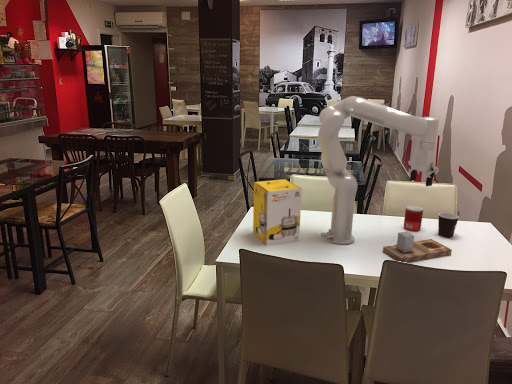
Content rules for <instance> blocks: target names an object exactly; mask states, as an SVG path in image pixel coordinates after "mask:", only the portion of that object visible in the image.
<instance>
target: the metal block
mask: <svg viewBox="0 0 512 384" xmlns="http://www.w3.org/2000/svg"><path fill="white" fill-rule="evenodd" d="M414 240H415V235H414V234H413V233H411V232H408V231H403V232H402V231H401V232H398V233H397V240H396V241H397V242H396V245H397V248H396V250H397V251H399V252H400V253H402V254H408V253H412V250H413V242H415V241H414Z"/></svg>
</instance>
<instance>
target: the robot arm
mask: <svg viewBox="0 0 512 384" xmlns="http://www.w3.org/2000/svg"><path fill="white" fill-rule="evenodd" d="M350 117H353V118H356V119H358V120H361V121H366V122H368V123H371V124H374V125H377V126H380V127H383V128H387V129H392V130H396V131H399V132H403V133H406V134H409V135H410V136H411V135H412V136H414V137H417V141H416V146H415V147H414V150H413V151H412V152H413V153H412V156H411V159H409V160H408V161H407V162H408V168H409V172H410V175H409V176H410V177H409V181H416V180H417V176H418V175H417V174H418V172H422V173H426V175H427V176H426V180H425V187H432V186H433V181H434V178H435V176H437V174H438V173H439V171H440V168H439V167H438V166H436V158H437V157H436V154H437V153H436V149H435V148H436V143H437V136H438V131H439V119H438V118H437V117H433V116H423V117H420V116H416V115H413V114H412V115H411V114H409V113H406V112H403V111H401V110H397V109H396V108H393V107H390V106H388V105H386V104H382V103H379V102H375V101H374V100H373V101H372V100H369V99H367V98H364V97H360V96H355V95H352V96H348V97H346V98H343V99H342V100H339V101H337V102H335V103H333V104H332V105H329V106H327V107H325V108H323V109H322V110H321V111H320V113H319V116H318V118H319V119H318V120H319V123H320V124H321V125H320V127H319V129H318V134H317V135H318V137H317V140H318V145H319V147H320V150H321V155H320V163H321V165H322V167H323V170H324V173H325V175H326V178H327V180H328V182H329V184H330V185H331V187H333V188H334V192H333V198H332V204H331V205H332V207H331V219H330V220H331V221H330V223H331V224H330V228H329V229H328V231H327V232H321V233H320V236H321V238H325V237H326V239H327V241H328V242H331V243H332V244H335V245H336V244H337V245H344V246H345V245H350V244H353V243H354V242H355V236H354V235H353V234H352V233H353V222H354V210H355V209H354V208H355V201H356V199H355V198H356V195H357V191H358V182H357V179H356V177H355V176H354V175H353V174H352V173H350V172H348V169H347V167H348V159H347V157H346V154H345V152H344V150H343V148H342V145H341V141H340V138H339V134H340V130H341V129H342V128H343V126H344V124H345V120H347V119H349V118H350Z"/></svg>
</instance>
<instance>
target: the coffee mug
mask: <svg viewBox="0 0 512 384" xmlns="http://www.w3.org/2000/svg"><path fill="white" fill-rule="evenodd" d="M458 221H459V216H458V215H457V214H455V213H451V212H439V213H438V225H437V226H438V228H437V230H438V231H437V233H438V236H439V237H441V238H445V239H452V238H453V237H454V234H455V231H456V228H457V224H458Z"/></svg>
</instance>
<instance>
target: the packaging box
mask: <svg viewBox="0 0 512 384" xmlns="http://www.w3.org/2000/svg"><path fill="white" fill-rule="evenodd" d="M302 189H303V188H301V187H300V186H299V185H296V184H295V183H293V182H291V181H289V180H288V179H286V178H284V179H274V180H263V181H261V180H260V181H255V182H253V214H252V215H253V219H252V220H253V221H252V223H253V226H252V230H253V231H252V232H253V234H254V235H255V236H257V237H256V238H258V239H259V240H261V241H262V242H263V244H265V246H274V245H279V244H285V243H286V244H287V243H292V242H298V241H300V231H301V230H300V229H301V228H300V227H301V214H302V213H301V210H302V209H301V208H302V191H303V190H302Z"/></svg>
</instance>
